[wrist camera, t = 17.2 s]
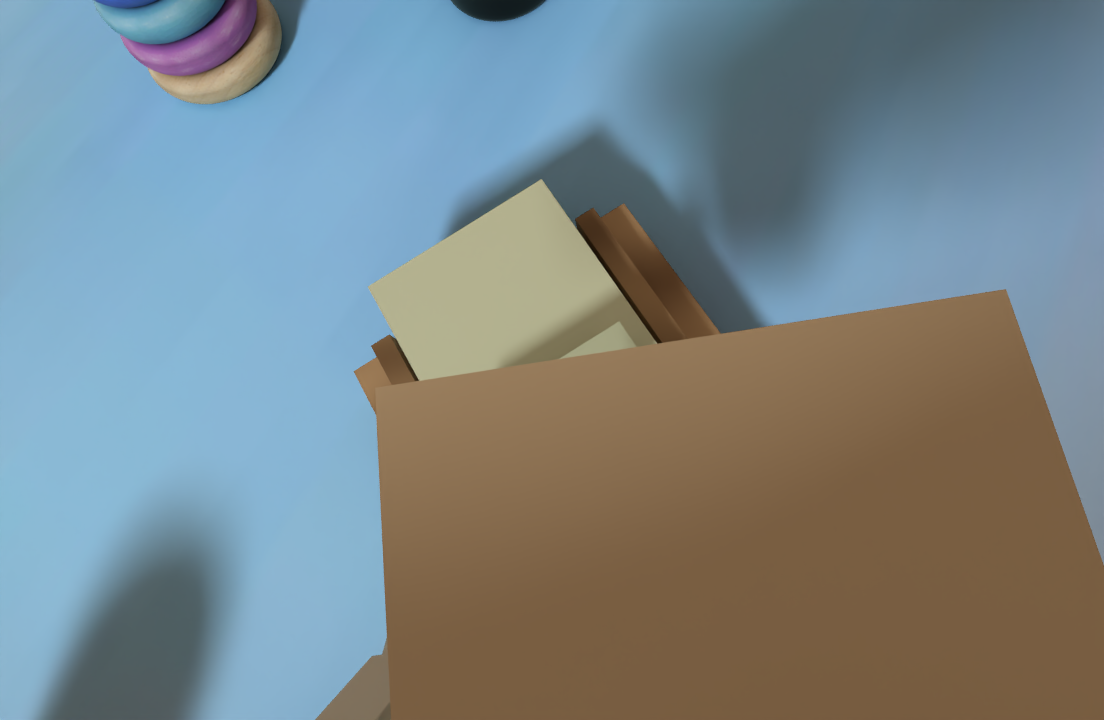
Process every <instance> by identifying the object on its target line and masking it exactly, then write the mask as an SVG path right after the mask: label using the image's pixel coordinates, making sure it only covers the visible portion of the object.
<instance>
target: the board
mask: <svg viewBox="0 0 1104 720" xmlns="http://www.w3.org/2000/svg"><path fill="white" fill-rule="evenodd" d="M575 221H576V225H577V230H578V232H579V233H580V234H581V236H582V237H583V239H584V240H585V242H586V243H587V244H588V246H589V247H590V249H591V250H592V252H593V253H594V254H595V256H596V257H597V259H598V260H599V262H600V263H601V264H602V266H603V267H604V269H605V270H606V272H607V273H608V274H609V276H610V277H611V279H612V280H613V281H614V283H615V284H616V286H617V287H618V289H619V290H620V291H621V293H622V294H623V296H624V297H625V299H626V300H627V301H628V303H629V304H630V306H631V307H632V309H633V310H634V311H635V313H636V314H637V316H638V317H639V319H640V320H641V321H642V323H643V324H644V326H645V327H646V329H647V330H648V331H649V333H650V334H651V336H652V337H653V338H654V340H655V341H656V343H657V344H659V343H665V342H672V341H678V340H684V339H691V338H697V337H704V336H710V335H716V334H721V333H720V332H719V331H718V329H717V328H716V327H715V325H714V324H713V323H712V321H711V320H710V319H709V317H708V316H707V315H706V313H705V312H704V310H703V309H702V308H701V306H700V305H699V304H698V302H697V301H696V300H695V298H694V297H693V296H692V294H691V293H690V292H689V290H688V289H687V288H686V286H685V285H684V284H683V282H682V281H681V280H680V278H679V277H678V276H677V274H676V273H675V272H674V270H673V269H672V267H671V266H670V265H669V263H668V262H667V261H666V259H665V258H664V257H663V255H662V254H661V253H660V251H659V250H658V249H657V247H656V246H655V245H654V243H653V242H652V241H651V239H650V238H649V237H648V235H647V234H646V233H645V231H644V230H643V229H642V227H641V226H640V224H639V223H638V222H637V220H636V219H635V218H634V216H633V215H632V214H631V212H630V211H629V210H628V208H627V207H626V206H625V204H624V203H623V204H622V205H620V206H619V207H617V208H615V209H614V210H612V211H611V212H609V213H607V214H606V215H604V216H603V217H601V218H600V216H599V215H598V214H597V212H596V211H595V209H594V208H592V209H590V210H589V211H587V212H586V213H584V214H582V215H581V216H579V217H577V218H576V219H575ZM371 347H372V349H373V350H374V352H375V354H376V356H377V357H376V358H375V359H373V360H371V361H370V362H368V363H367V364H365V365H363V366H362V367H360V368H358V369H357V370H355V371H354V373H355V375H356V377H357V379H358V381H359V382H360V384H361V386H362V388H363V390H364V392H365V394H366V396H367V398H368V400H369V402H370V404H371V406H372V408H373V410H374V412H375V414H376V396H375V388H377V387H383V386H390V385H396V384H403V383H409V382H415V381H419V379H418V378H417V376H416V374H415V372H414V370H413V368H412V367H411V365H410V363H409V361H408V359H407V357H406V356H405V354H404V352H403V350H402V348H401V346H400V345H399V343H398V341H397V340H396V339H395V338H394V337H392V336H391V335H388V336H386V337H385V338H383V339H381V340H380V341H378V342H377V343H375V344H373V345H372V346H371Z"/></svg>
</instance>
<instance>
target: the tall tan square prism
mask: <svg viewBox="0 0 1104 720" xmlns="http://www.w3.org/2000/svg"><path fill="white" fill-rule="evenodd" d="M375 396H376V417H377V438H378V459H379V479H380V500H381V521H382V542H383V563H384V584H385V604H386V625H387V646H388V667H389V688H390V708H391V720H1104V565H1103V562H1102V559H1101V556H1100V554H1099V551H1098V548H1097V545H1096V542H1095V540H1094V537H1093V534H1092V531H1091V528H1090V525H1089V523H1088V520H1087V517H1086V514H1085V511H1084V508H1083V506H1082V503H1081V500H1080V497H1079V494H1078V492H1077V489H1076V486H1075V483H1074V480H1073V477H1072V475H1071V472H1070V469H1069V466H1068V463H1067V461H1066V458H1065V455H1064V452H1063V449H1062V446H1061V444H1060V441H1059V438H1058V435H1057V432H1056V429H1055V427H1054V424H1053V421H1052V418H1051V415H1050V413H1049V410H1048V407H1047V404H1046V401H1045V398H1044V396H1043V393H1042V390H1041V387H1040V384H1039V382H1038V379H1037V376H1036V373H1035V370H1034V367H1033V365H1032V362H1031V359H1030V356H1029V353H1028V350H1027V348H1026V345H1025V342H1024V339H1023V336H1022V334H1021V331H1020V328H1019V325H1018V322H1017V319H1016V317H1015V314H1014V311H1013V308H1012V305H1011V303H1010V300H1009V297H1008V294H1007V291H1006V289H1005V290H998V291H992V292H985V293H979V294H973V295H966V296H960V297H953V298H947V299H941V300H934V301H928V302H921V303H915V304H909V305H902V306H896V307H889V308H883V309H876V310H870V311H864V312H857V313H851V314H844V315H838V316H832V317H825V318H819V319H812V320H806V321H800V322H793V323H787V324H780V325H774V326H768V327H761V328H755V329H748V330H742V331H736V332H729V333H723V334H716V335H710V336H704V337H697V338H691V339H684V340H678V341H672V342H665V343H659V344H652V345H646V346H640V347H633V348H627V349H620V350H614V351H607V352H601V353H595V354H588V355H582V356H575V357H569V358H563V359H556V360H550V361H543V362H537V363H531V364H524V365H518V366H511V367H505V368H499V369H492V370H486V371H479V372H473V373H467V374H460V375H454V376H447V377H441V378H435V379H428V380H422V381H415V382H409V383H403V384H396V385H390V386H383V387H377V388H375Z"/></svg>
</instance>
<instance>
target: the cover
mask: <svg viewBox="0 0 1104 720" xmlns="http://www.w3.org/2000/svg"><path fill="white" fill-rule="evenodd" d="M368 288H369V290H370V292H371V293H372V295H373V297H374V299H375V301H376V303H377V304H378V306H379V308H380V310H381V312H382V314H383V315H384V317H385V319H386V321H387V323H388V325H389V326H390V328H391V330H392V332H393V334H394V336H395V337H396V339H397V341H398V343H399V345H400V346H401V348H402V350H403V352H404V354H405V356H406V357H407V359H408V361H409V363H410V365H411V367H412V368H413V370H414V372H415V374H416V376H417V378H418V379H419V381H422V380H428V379H435V378H441V377H447V376H454V375H460V374H467V373H473V372H479V371H486V370H492V369H499V368H505V367H511V366H518V365H524V364H531V363H537V362H543V361H550V360H556V359H563V358H569V357H575V356H582V355H588V354H595V353H601V352H607V351H614V350H620V349H627V348H633V347H640V346H646V345H652V344H657V343H656V341H655V340H654V338H653V337H652V336H651V334H650V333H649V331H648V330H647V329H646V327H645V326H644V324H643V323H642V321H641V320H640V319H639V317H638V316H637V314H636V313H635V311H634V310H633V309H632V307H631V306H630V304H629V303H628V301H627V300H626V299H625V297H624V296H623V294H622V293H621V291H620V290H619V289H618V287H617V286H616V284H615V283H614V281H613V280H612V279H611V277H610V276H609V274H608V273H607V272H606V270H605V269H604V267H603V266H602V264H601V263H600V262H599V260H598V259H597V257H596V256H595V254H594V253H593V252H592V250H591V249H590V247H589V246H588V244H587V243H586V242H585V240H584V239H583V237H582V236H581V234H580V233H579V232H578V230H577V229H576V227H575V226H574V224H573V223H572V222H571V220H570V219H569V217H568V216H567V215H566V213H565V212H564V210H563V209H562V207H561V206H560V205H559V203H558V202H557V200H556V199H555V197H554V196H553V195H552V193H551V192H550V190H549V189H548V187H547V186H546V185H545V183H544V182H543V180H542V179H541V180H539V181H538V182H536V183H534V184H533V185H531V186H529V187H528V188H526V189H525V190H523V191H521V192H520V193H518V194H517V195H515V196H513V197H512V198H510V199H509V200H507V201H505V202H504V203H502V204H500V205H499V206H497V207H496V208H494V209H492V210H491V211H489V212H488V213H486V214H484V215H483V216H481V217H480V218H478V219H476V220H475V221H473V222H471V223H470V224H468V225H467V226H465V227H463V228H462V229H460V230H459V231H457V232H455V233H454V234H452V235H451V236H449V237H447V238H446V239H444V240H442V241H441V242H439V243H438V244H436V245H434V246H433V247H431V248H430V249H428V250H426V251H425V252H423V253H422V254H420V255H418V256H417V257H415V258H413V259H412V260H410V261H409V262H407V263H405V264H404V265H402V266H401V267H399V268H397V269H396V270H394V271H392V272H391V273H389V274H388V275H386V276H384V277H383V278H381V279H380V280H378V281H376V282H375V283H373V284H372V285H370V286H368Z"/></svg>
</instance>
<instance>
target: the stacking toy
mask: <svg viewBox="0 0 1104 720" xmlns="http://www.w3.org/2000/svg"><path fill="white" fill-rule="evenodd" d="M93 1H94V4H95V7H96V9H97V11H98V13H99V14H100V16H101V17H102V18H103V20H104V21H105V22H106V23H107V24H108V25H109V26H110V27H111V28H112V29H113V30H114V31H116V32H117V33H119V34H120V36H121V39H122V41H123V43H124V45H125V46H126V48H127V49H128V51H129V52H130V53H131V54H132V55H133V56H134V57H135V58H136V59H137V60H138V61H139V62H140V63H142V64H143V65H145V66H146V67H147V68H148V70H149V72H150V74H151V76H152V77H153V79H154V80H155V82H156V83H157V84H158V85H159V86H160V87H161V88H162V89H164V90H165V91H166V92H167V93H169V94H170V95H172V96H174V97H176V98H178V99H181V100H183V101H186V102H190V103H196V104H214V103H220V102H224V101H228V100H231V99H234V98H236V97H238V96H240V95H242V94H244V93H245V92H247V91H249V90H250V89H251V88H253V87H254V86H255V85H257V84H258V83H259V82H260V81H261V80H262V79H263V78H264V77H265V76H266V74H267V73H268V72H269V71H270V69H271V68H272V66H273V65H274V63H275V61H276V59H277V56H278V54H279V51H280V46H281V39H282V31H281V24H280V20H279V17H278V14H277V12H276V10H275V8H274V6H273V5H272V4H271V2H270V1H269V0H93Z"/></svg>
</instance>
